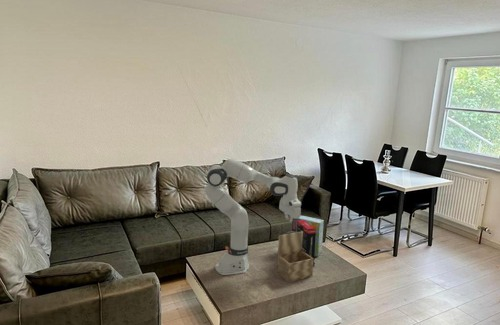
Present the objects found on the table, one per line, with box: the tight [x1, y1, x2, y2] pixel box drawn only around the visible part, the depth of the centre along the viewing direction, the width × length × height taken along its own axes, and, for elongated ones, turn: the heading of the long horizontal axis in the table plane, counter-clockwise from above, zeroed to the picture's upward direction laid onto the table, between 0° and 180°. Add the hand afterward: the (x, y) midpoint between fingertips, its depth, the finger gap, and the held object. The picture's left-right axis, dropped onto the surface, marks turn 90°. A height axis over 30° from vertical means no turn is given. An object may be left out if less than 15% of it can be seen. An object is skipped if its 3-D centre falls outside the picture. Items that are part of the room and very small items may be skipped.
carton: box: [277, 250, 315, 283], centre depth 223 cm, size 18×13×12 cm
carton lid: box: [277, 230, 303, 256], centre depth 228 cm, size 18×13×5 cm
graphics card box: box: [297, 220, 316, 267], centre depth 240 cm, size 17×7×27 cm, turn 18°
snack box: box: [291, 214, 325, 258], centre depth 255 cm, size 22×9×26 cm, turn 58°
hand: (288, 220), depth 227 cm, fingers open, 3 cm apart
